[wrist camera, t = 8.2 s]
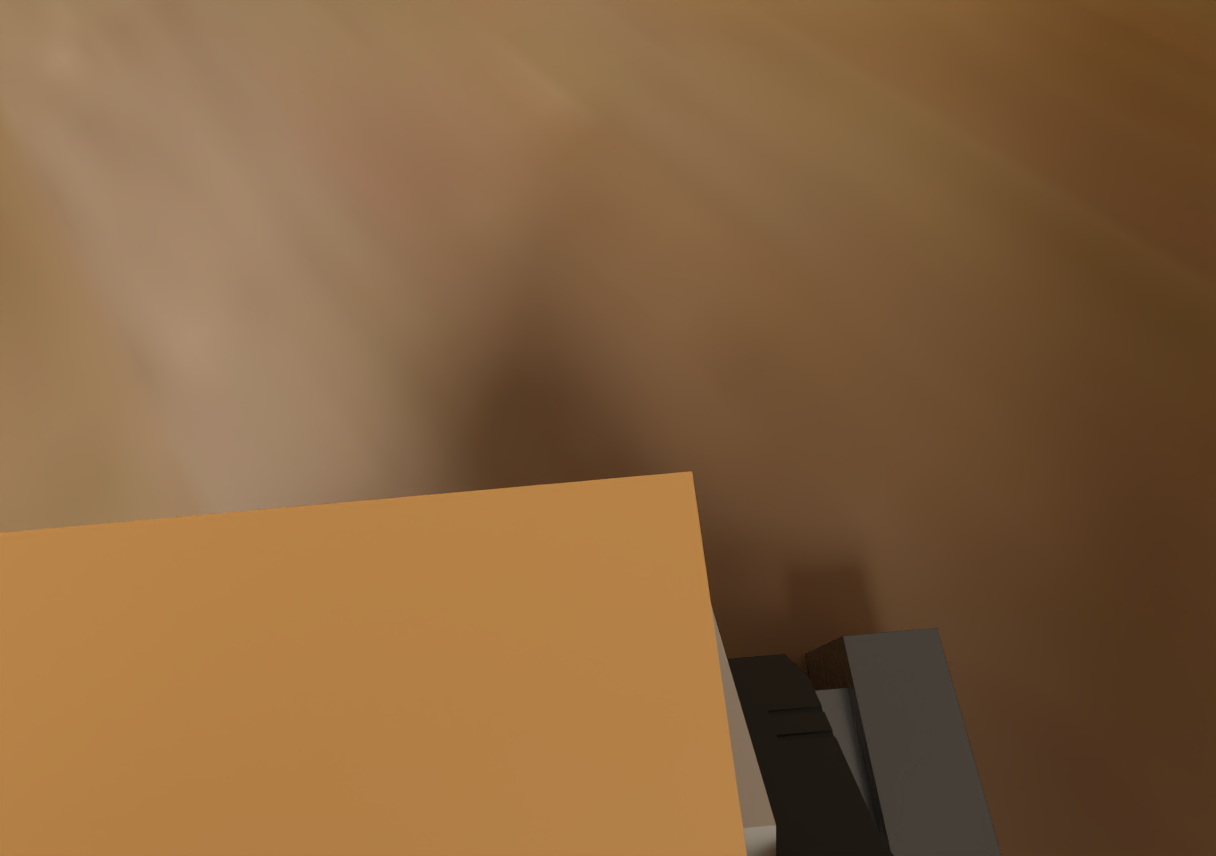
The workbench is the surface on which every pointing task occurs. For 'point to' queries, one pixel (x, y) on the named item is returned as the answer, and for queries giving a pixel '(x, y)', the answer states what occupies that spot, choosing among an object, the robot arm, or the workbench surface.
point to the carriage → (370, 680)
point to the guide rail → (905, 741)
